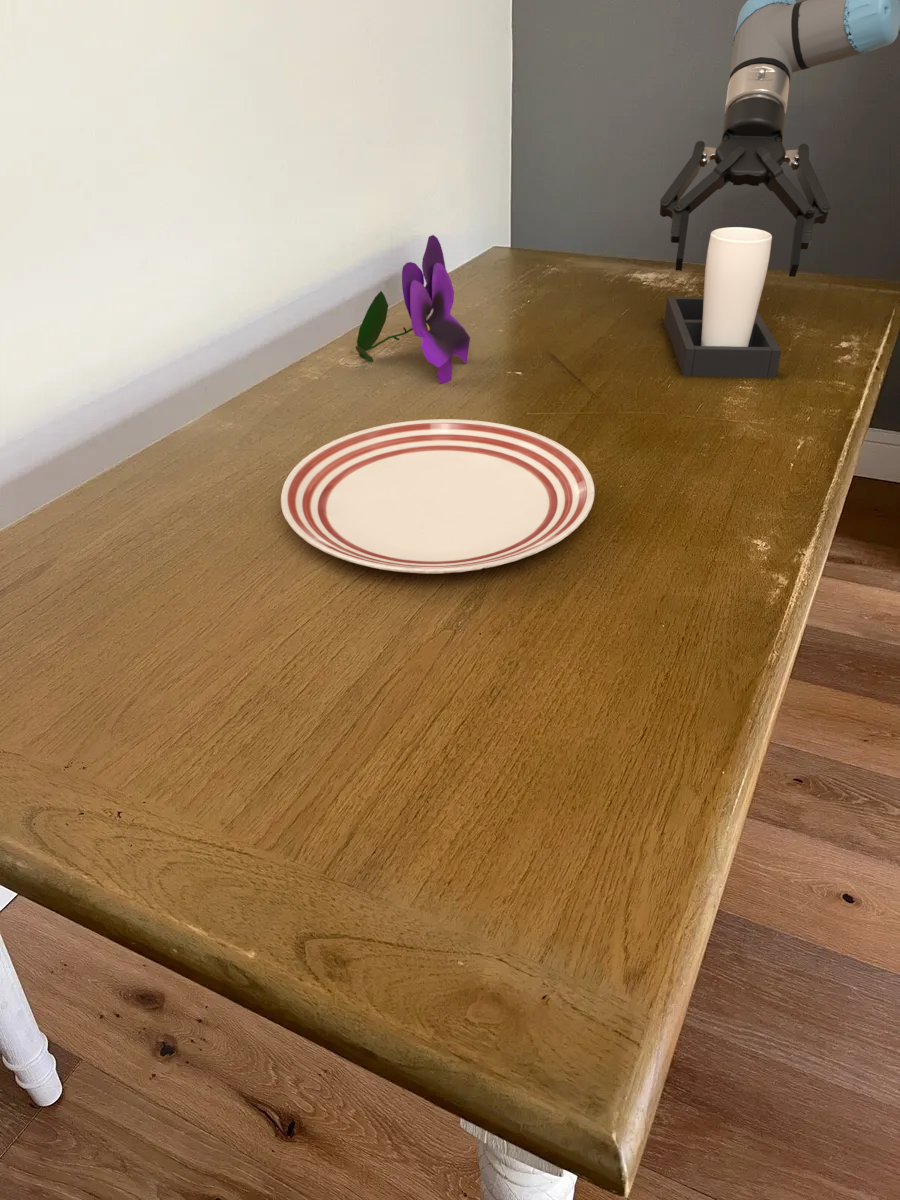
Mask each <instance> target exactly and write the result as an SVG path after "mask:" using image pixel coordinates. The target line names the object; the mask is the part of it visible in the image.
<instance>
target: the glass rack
mask: <svg viewBox="0 0 900 1200" xmlns="http://www.w3.org/2000/svg"><path fill="white" fill-rule="evenodd" d="M703 299H704V296H667V297H666V305H665V312H664V321H663V329H666V330H667V333H668V336H669V339H670V343H671V345H672V348H673V352H674V354H675V357H676V361H677V363H678V366H679V369H680V372H681V375H682V376H683V377H726V378H727V377H732V378H733V377H734V378H777V375H778V370H779V363H780V359H781V353H782V349H781V348H780V346H779V344H778V342H777V341H776V339H775V337H774V336H773V335H772V332H771V331H770V330H769V328H768V326H767V324H766V323H765V321H764V320H763V318H762V317H761V315H760V312H759V311H758V310H757V313H756V317H755V321H754V325H753V329H752V333H751V337H750V341H749V345H748V347H733V346H701V337H702V319H703Z"/></svg>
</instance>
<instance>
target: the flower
mask: <svg viewBox="0 0 900 1200" xmlns="http://www.w3.org/2000/svg"><path fill="white" fill-rule="evenodd" d="M401 287H402V288H401V289H402V296H403V300H404V304H405V307H406V310H407V313H408V315H409V319H410V321H411V328H409V329H406V327H405V326H403V330H404V332H401V333H397V334H393V335H389V336H387V337H386V338H384V339H383V340H381V341H379V342H377V340H378V339H379V337H380V334H381V332H382V330H383V328H384V326H385V323H386V321H387V316H388V310H389V304H388V301H387V298H386V295H385V294H384V293H383V291H382V290H380V291H379V292H378V293H377V294H376V295H375V297H374V299H372V302H371V303H370V304H369V306H368V308H367V311H366V313H365V315H364V317H363V320H362V321H361V325H360V327H359V328H358V329H359V330H358V334H357V339H356V345H355V350H356V352H357V353H358V356H359V357H360V358H361V359H362V360H365V361H367V362H370V363H373V361H374V358H373V356H371V355H370V354H369V353H368V351H370V350H372V349H375V348H376V347H378V346H380V345H381V344H384V343H385V342H387V341H388V340H390V339H393V340H396V341H400V338H399V337H401V336H404V335H406V334H408V333H410V332H412V331H413V334H414V336H416V337H419V338H422V340H421V345H420V347H421V350H422V352H423V354H424V356H425V359H426V361H427V362H429V363H430V364H431V365H433V366H435V367H437V368H438V369H437V376H436V377H437V379H438V381H439V383H440V384H446V383H448V382H450V381H451V380H452V378H453V360H452V359H453V356H458V357H459V358H460V359H461V361H463V362H464V363H465V364H467V361H468V357H469V356H468V355H469V349H470V341H471V336H470V335H469V333H468V332H467V330H466V329H465V327H464V326H463V325H462V324H461V323H460V322H459V321H458V320H457V319H456V318H455V317H454V316H453V315H452V314H451V312H452V309H453V304H454V302H455V301H454V299H455V290H454V286H453V283H452V279H451V277H450V275H449V273H448V271H447V268H446V262H445V257H444V252H443V248H442V244H441V243H440V241H439V238H438V237H437V236H435V234H432V235H430V236H428V239H427V243H426V247H425V251H424V253H423V256H422V262H421V268H420V267H419V266H418V264H417V263H416V262H412V261H409V262H406V263H405V264H404V265H402V270H401ZM376 342H377V343H376Z"/></svg>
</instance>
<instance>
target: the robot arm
mask: <svg viewBox="0 0 900 1200" xmlns="http://www.w3.org/2000/svg"><path fill="white" fill-rule="evenodd" d="M899 32H900V0H805V1H799V2H797V1H796V0H746V2H745V3H744V4H743V6H742V7H741V9H740V11H739V13H738V17H737V21H736V27H735V31H734V34H733V37H732V53H731V55H732V56H731V62H730V70H729V71H730V73H729V79H728V84H727V92H726V99H725V105H724V115H723V121H722V129H721V137H720V143H719V145H718V146H717V147H712V146H706V143H705V141H703V140H698V141H696V142H695V144H694V148H693V151H692V155H691V156H690V158H689V160H687V162H686V164H685V165H684V166H683V168H682V169H681V171H680V172H679V174H678V175H677V176H676V177H675V179H674V180H673V181H672V183H671V185H670V186H669V188H668V189H667V190H666V191H665V193H664V195H663V196H662V197H661V198H660V201H659V215H660V216H661V217H662V218H663V217H664V218H666V217H669V218H670V219H671V228H670V234H669V235H670V238H669V240H670V243H672V244H678V246H677V253H676V259H675V260H676V261H675V271H678V272H679V271H680V272H682V271H683V263H684V257H685V249H686V241H687V235H688V226H689V217H690V214H691V213H693V211H695V210H696V209H697V208H698V207H699V206H700V205H702V203H704V202H705V201H706V200H707V199H708V198H710V197H711V196H712V195H713V194H714V193H716V192H717V190H721V189H722V188H723V187H724V186H726V185H727V184H728V183H729V182H730V183H732V185H733V186H743V185H748V186H750V187H751V186H752V187H754V186H755V187H759V185H760V184H763V185H764V186H765V187H766V188H767V189H768V191H770V192H772V193H773V194H774V195H775V196H776V197H777V198H778V199H779V201H780V202H781V203H782V204H783V206H784V207H785V208H786V209H787V210H788V211H789V213H790V214H791V215H792V216H793V217H794V219H795V224H794V229H793V234H792V235H793V236H792V245H791V252H790V253H791V254H790V262H789V271H788V277H790V278H796V275H797V273H798V269H799V266H800V259H801V250H808V249H809V247H810V244H811V242H812V237H813V228H814V227H813V226H814V225H815V224H820V225H824V224H825V223H826V222H827V221H828V218H829V216H830V212H831V209H832V205H831V204H830V202H829V199H828V197H827V195H826V193H825V191H824V188H823V186H822V184H821V182H820V180H819V178H818V176H817V173H816V172H815V169H814V167H813V165H812V163H811V160H810V147H809V145H808V144H807V143H801V144H800V145H799V146H798V148H797V149H785V146H784V135H785V126H786V120H787V119H786V118H787V116H786V113H787V109H788V102H789V101H788V100H789V91H790V84H791V76H792V74H793V73H796V72H799V71H804V70H807V69H811V68H813V67H817V66H822V65H824V64H825V65H826V64H828V63H831V62H836V61H840V60H843V59H846V58H851V57H854V56H857V55H861V54H863V55H865V54H869V53H871V52H875V51H876V50H878V49H880V48H883V47H887V46H889V45H891V44H893V43H894V42H895V41H896V39H897V38H898V35H899ZM711 160H714V162H715V165H716V166H714V168H713V170H712V171H711V172H710V173H709V174H708V175H707V176H705V177H704V178H703V179H702V180H701V181H700V182H699V183H697V184H696V185H695V186H694V187H693V188H691V190H690V191H689V192H687V193H686V191H687V190H688V188H689V187H690V186H691V184H692V183H693V182H694V180H695V179H696V177H697V176H698V175H699V173H700V171H701V168H704V167H706V166H707V165H708V164H709V162H711ZM784 163H788V165H789V167H790V169H791V171H795V176H796V179H797V181H798V183H799V185H800V187H801V190H802V192H803V194H804V195H802V193H801V192H800V190H798V188H797V187H796V186H795V185H794V184H793V182H792V181H791V180H790V179H789V178H788V176H786V174H785V173H784V169H783V168H782V165H783V164H784ZM685 193H686V194H685ZM683 195H684V196H683ZM804 196H805V197H804Z"/></svg>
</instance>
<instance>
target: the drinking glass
mask: <svg viewBox="0 0 900 1200" xmlns="http://www.w3.org/2000/svg"><path fill="white" fill-rule="evenodd" d="M772 242H773V235H772V234H771V233H770V232H768V231H767V230H763V229H760V228H752V227H744V226H743V227H741V226H732V227H721V228H716V229H714V230H712V231H711V232H710V235H709V241H708V246H707V251H706V257H705V259H706V260H705V268H704V279H703V280H704V281H703V297H704V299H703V319H702V337H701V346H733V347H748V345H749V341H750V337H751V333H752V329H753V325H754V321H755V317H756V313H757V311H758V309H759V306H760V301H761V298H762V293H763V290H764V286H765V283H766V279H767V274H768V269H769V263H770V259H771V258H770V257H771V249H772Z"/></svg>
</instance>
